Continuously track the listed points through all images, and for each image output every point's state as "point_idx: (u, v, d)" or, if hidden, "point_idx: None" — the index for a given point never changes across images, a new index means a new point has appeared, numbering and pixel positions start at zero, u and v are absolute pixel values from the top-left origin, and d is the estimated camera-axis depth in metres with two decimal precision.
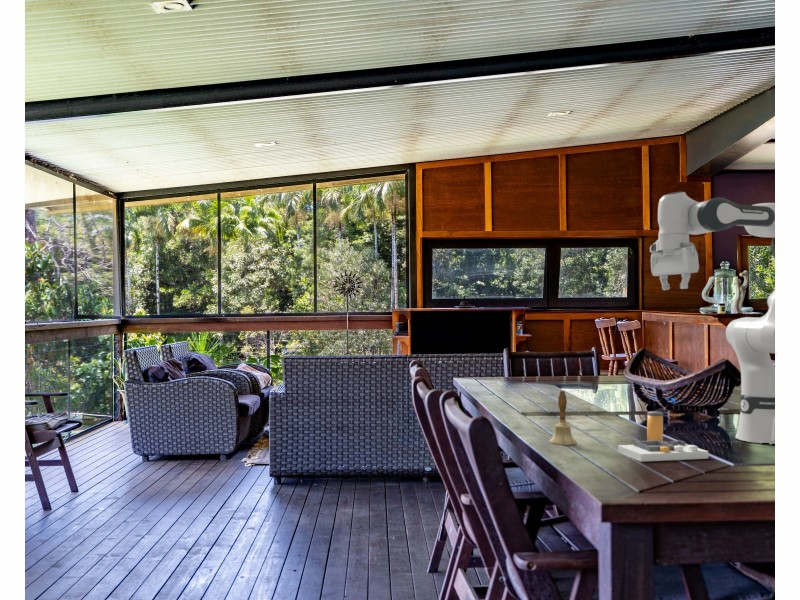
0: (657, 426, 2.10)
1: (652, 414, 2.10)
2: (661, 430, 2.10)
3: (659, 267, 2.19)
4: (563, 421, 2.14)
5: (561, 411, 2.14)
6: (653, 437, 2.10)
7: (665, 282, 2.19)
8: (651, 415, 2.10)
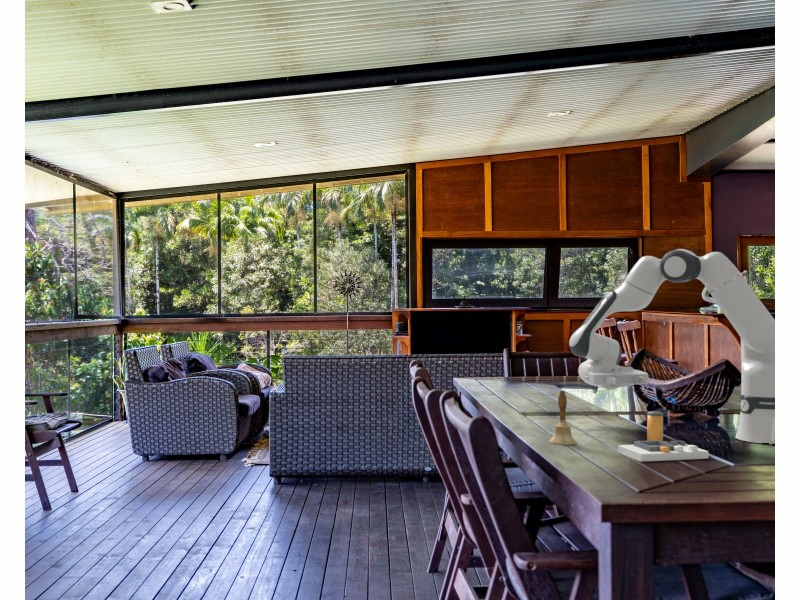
0: (657, 426, 2.10)
1: (652, 414, 2.10)
2: (661, 430, 2.10)
3: None
4: (563, 421, 2.14)
5: (561, 411, 2.14)
6: (653, 437, 2.10)
7: None
8: (651, 415, 2.10)
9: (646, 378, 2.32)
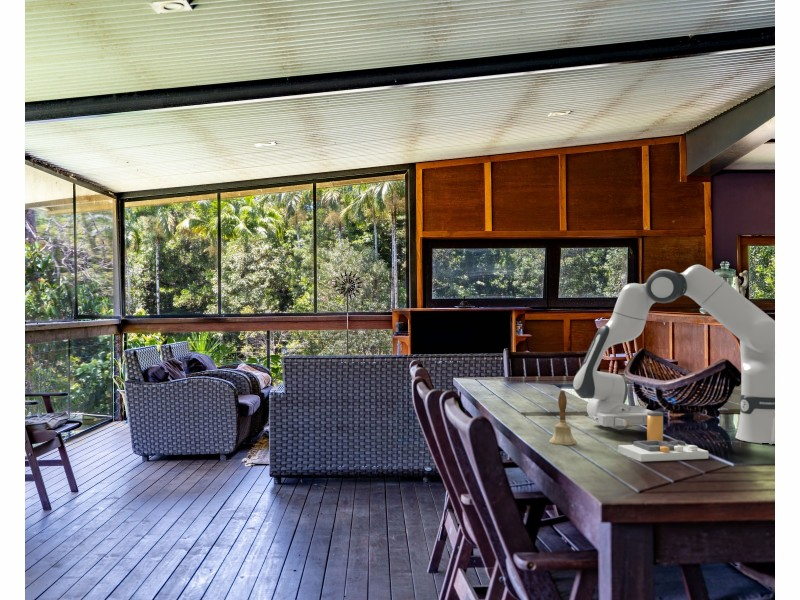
0: (657, 426, 2.10)
1: (652, 414, 2.10)
2: (661, 430, 2.10)
3: None
4: (563, 421, 2.14)
5: (561, 411, 2.14)
6: (653, 437, 2.10)
7: None
8: (651, 415, 2.10)
9: None
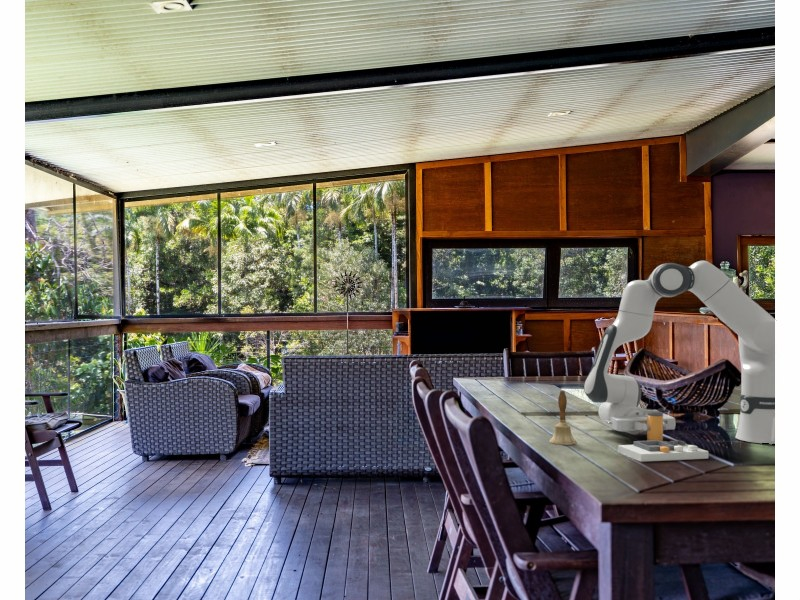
0: (657, 426, 2.10)
1: (652, 414, 2.10)
2: (661, 430, 2.10)
3: None
4: (563, 421, 2.14)
5: (561, 411, 2.14)
6: (653, 437, 2.10)
7: None
8: (651, 415, 2.10)
9: (673, 423, 2.17)
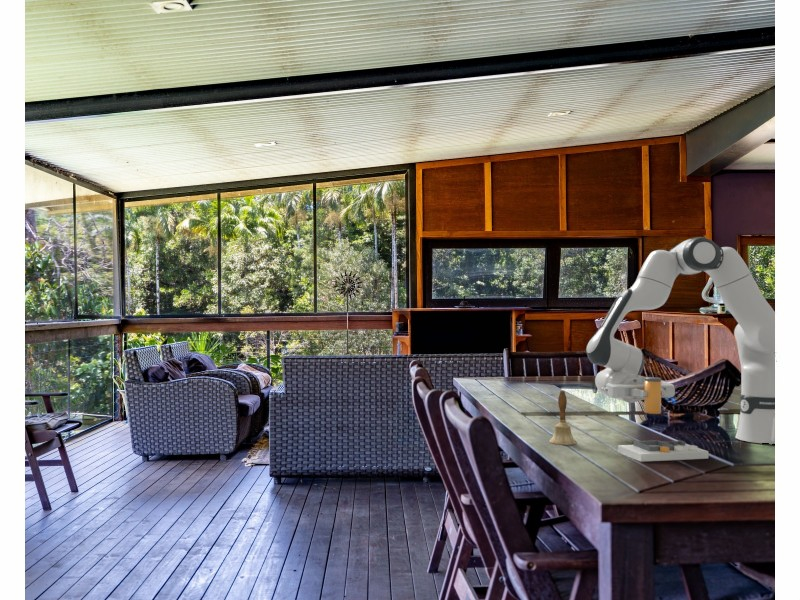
0: (654, 392, 1.99)
1: (650, 379, 2.00)
2: (659, 396, 1.99)
3: None
4: (563, 421, 2.14)
5: (561, 411, 2.14)
6: (651, 404, 1.99)
7: None
8: (649, 380, 2.00)
9: (672, 390, 2.07)
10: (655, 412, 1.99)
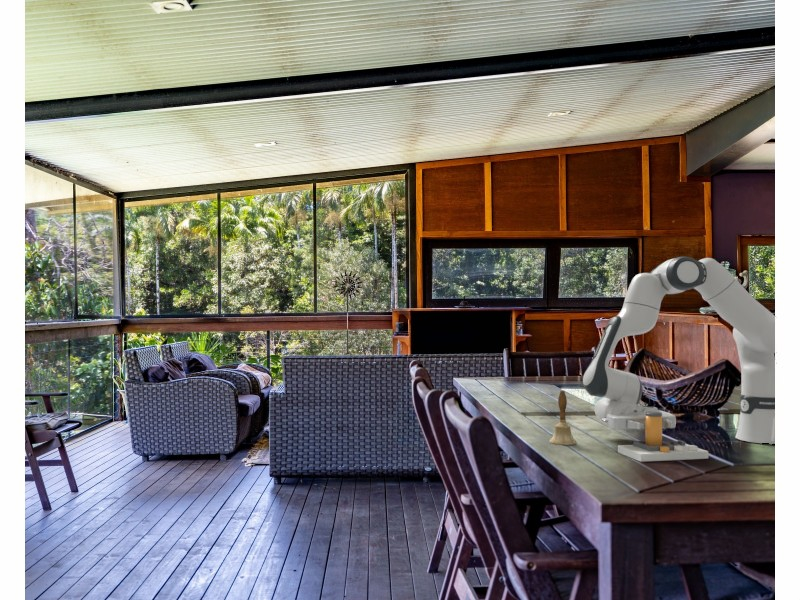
0: (655, 427, 1.96)
1: (650, 414, 1.97)
2: (660, 431, 1.97)
3: None
4: (563, 421, 2.14)
5: (561, 411, 2.14)
6: (652, 439, 1.96)
7: None
8: (649, 416, 1.97)
9: (673, 421, 2.04)
10: None
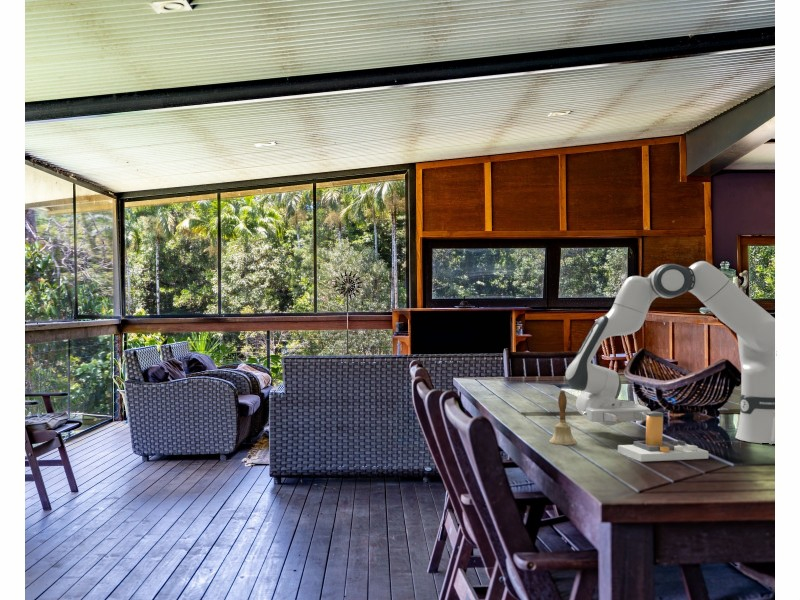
0: (656, 427, 1.96)
1: (652, 414, 1.96)
2: (661, 432, 1.96)
3: None
4: (563, 421, 2.14)
5: (561, 411, 2.14)
6: (652, 439, 1.96)
7: None
8: (650, 415, 1.97)
9: None
10: None
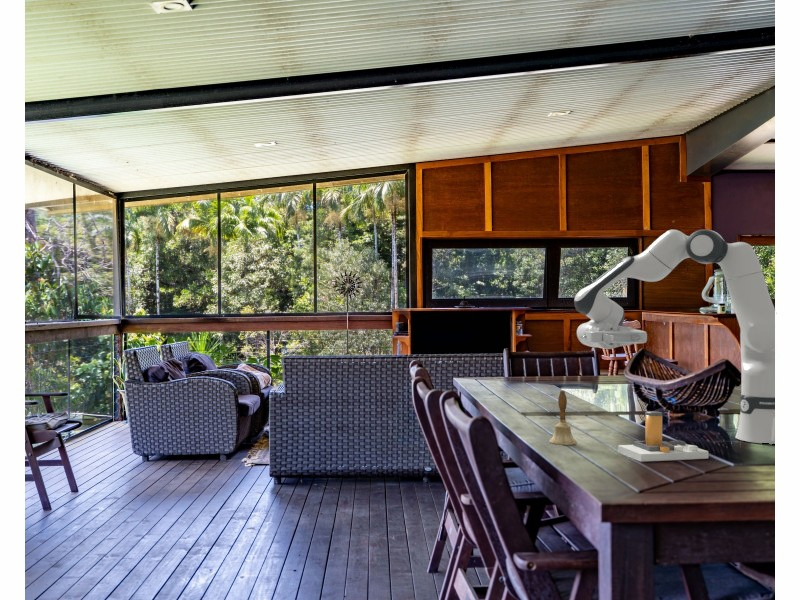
0: (656, 427, 1.96)
1: (651, 414, 1.97)
2: (661, 431, 1.97)
3: None
4: (563, 421, 2.14)
5: (561, 411, 2.14)
6: (653, 439, 1.96)
7: None
8: (650, 415, 1.97)
9: (645, 336, 2.30)
10: None
